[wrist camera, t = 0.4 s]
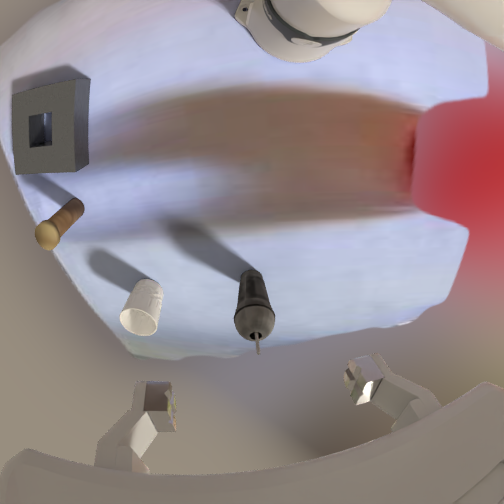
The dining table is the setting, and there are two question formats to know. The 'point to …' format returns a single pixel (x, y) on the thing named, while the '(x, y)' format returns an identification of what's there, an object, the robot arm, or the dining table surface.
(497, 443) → the robot arm
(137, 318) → the white cup
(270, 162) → the dining table surface
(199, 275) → the dining table surface
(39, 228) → the brass pin
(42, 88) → the hitch block
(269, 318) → the beverage cup
